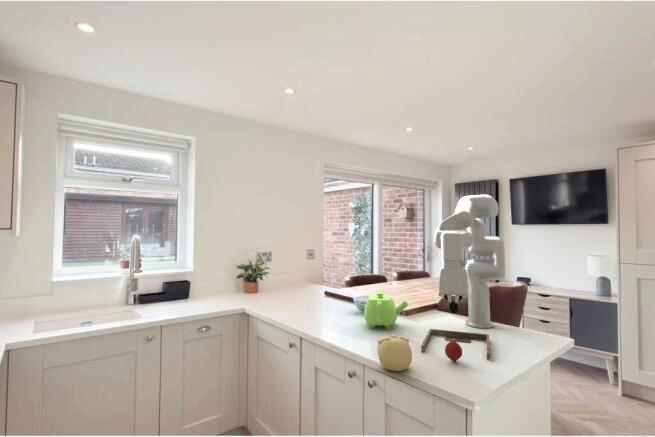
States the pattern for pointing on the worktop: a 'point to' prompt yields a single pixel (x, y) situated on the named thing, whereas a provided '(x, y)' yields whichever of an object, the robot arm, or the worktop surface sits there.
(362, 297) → the chinaware
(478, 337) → the wooden u-shaped frame
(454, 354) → the onion
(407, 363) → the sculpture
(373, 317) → the teapot
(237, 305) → the worktop surface
